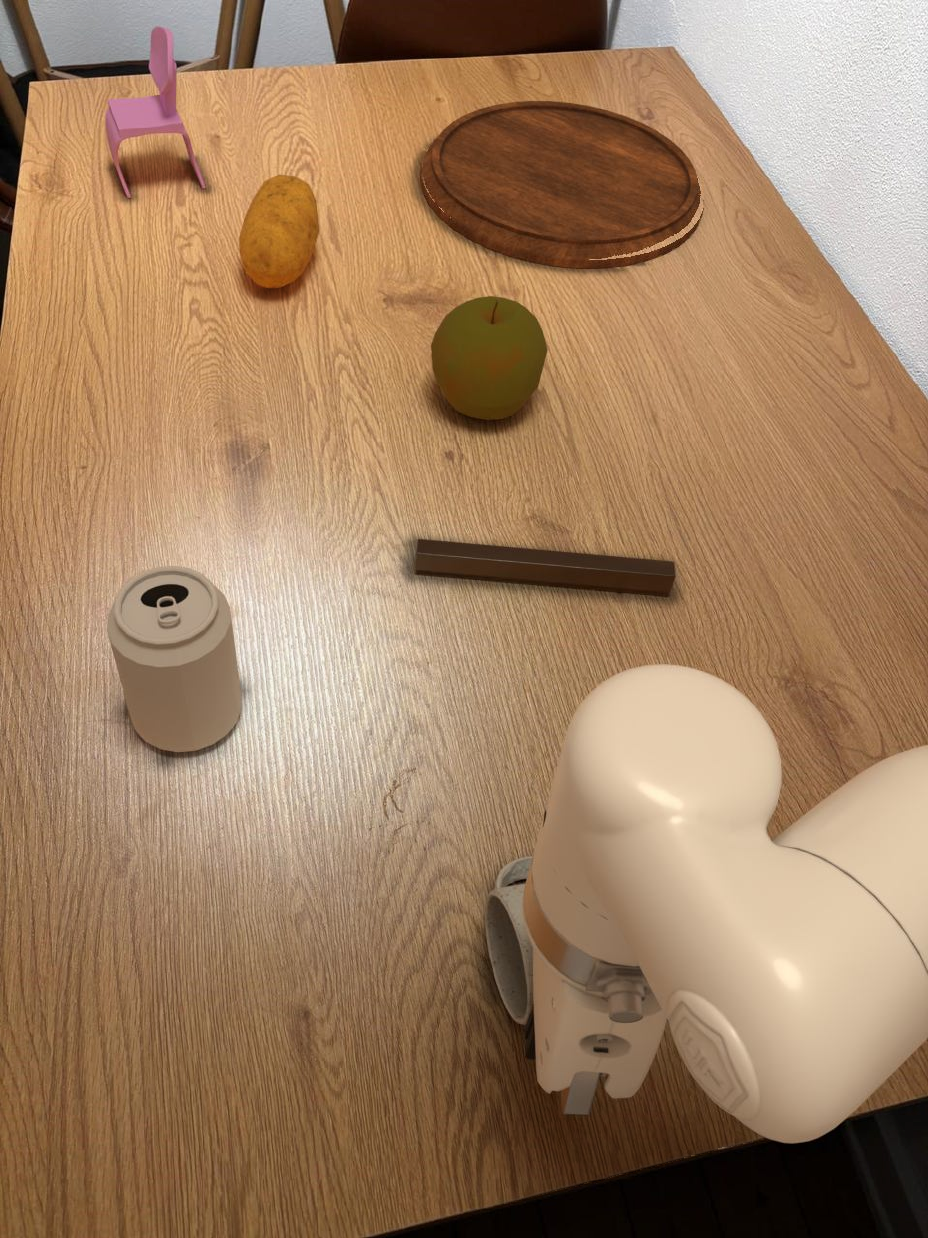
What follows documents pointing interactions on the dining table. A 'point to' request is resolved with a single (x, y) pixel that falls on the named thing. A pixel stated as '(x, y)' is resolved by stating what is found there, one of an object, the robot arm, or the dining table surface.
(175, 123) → the toy chair
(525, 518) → the dining table surface
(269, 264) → the potato
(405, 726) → the dining table surface
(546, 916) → the robot arm
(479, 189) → the cutting board
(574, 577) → the back rail
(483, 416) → the apple
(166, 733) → the can
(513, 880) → the ceramic mug
